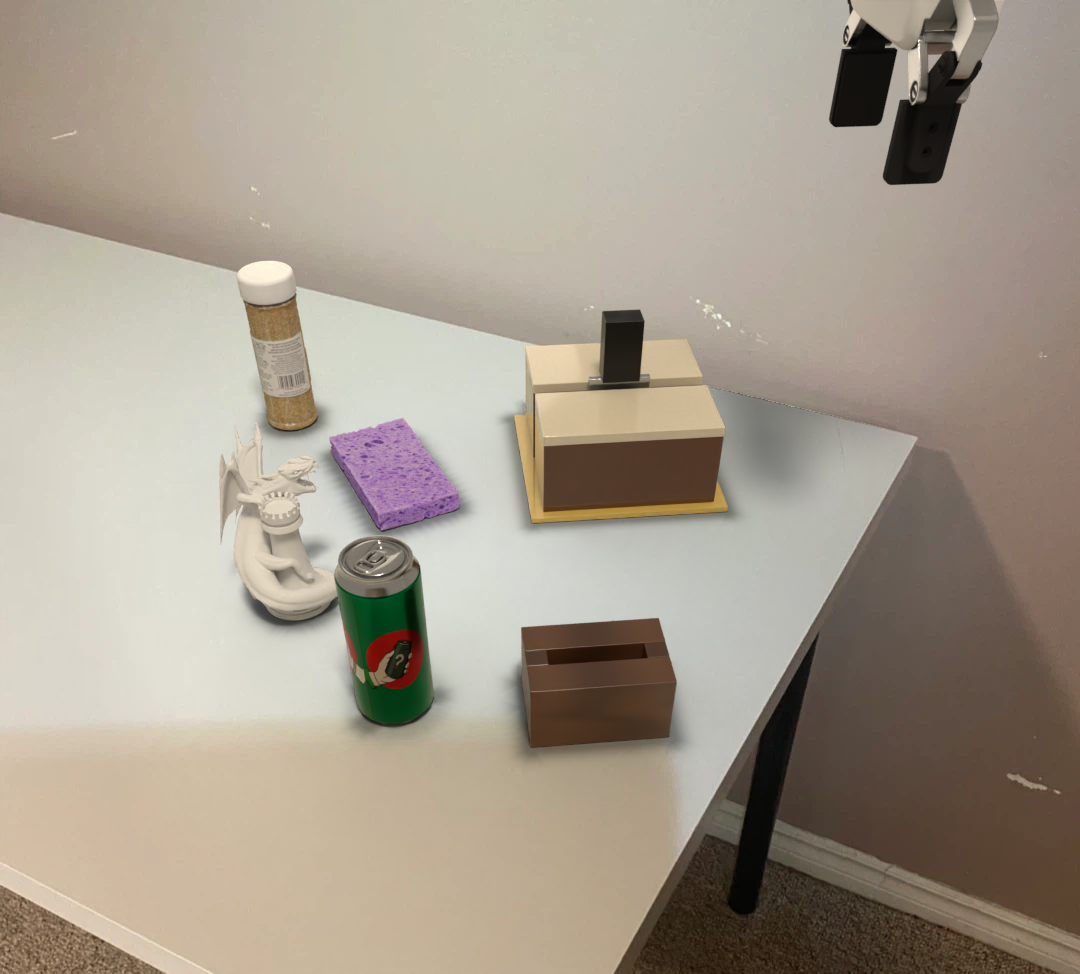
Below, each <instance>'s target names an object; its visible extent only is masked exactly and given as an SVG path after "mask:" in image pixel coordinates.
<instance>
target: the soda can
mask: <svg viewBox="0 0 1080 974" xmlns="http://www.w3.org/2000/svg"><path fill="white" fill-rule="evenodd" d="M333 574H334V580H335V585H336V591H337V601H338V607H339V612H340V618H341V623H342V628H343V634H344V639H345V645H346V651H347V656H348V661H349V666H350V667H349V668H350V673H351V677H352V678H351V679H352V682H353V684H352V685H353V689H354V694H355V700H356V704H357V706H358V707H357V708H359V710H360V711H361V713H362V714H363V715H365V716H366V717H367V718H369V719H370V720H373V721H375V722H377V723H381V724H385V725H400V724H404V723H408V722H410V721H413V720H414V719H416V718H418V717H420V716H421V715H423V713H424V712H425V711H427V710H428V708H429V707H430V706H431V704H432V702H433V699H434V684H433V676H432V666H431V656H430V655H431V654H430V646H429V638H428V628H427V617H426V608H425V597H424V588H423V580H422V578H423V577H422V569H421V564H420V562H419V561H418V559H417V557H415V556H414V554H413V551H412V548H411V547H410V546H409V544H408V543H406V542H405V541H403V540H402V539H400V538H398V537H395V536H391V535H385V534H384V535H382V534H381V535H380V534H377V535H368V536H364V537H360V538H357V539H355V540H353V541H352V542H349V543H348V544H347V545H345V546H344V547H343V548H342V550H341V551H340V552H339V555H338V558H337V565H336V567H335V569H334V573H333Z"/></svg>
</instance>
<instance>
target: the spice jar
mask: <svg viewBox="0 0 1080 974" xmlns="http://www.w3.org/2000/svg"><path fill="white" fill-rule="evenodd" d="M236 281H237V286H238V292H239V295H240V298H241V299H242V302H243V304H244V307H245V312H246V313H245V314H246V317H247V321H248V326H249V335H250V339H251V344H252V348H253V353H254V357H255V364H256V368H257V373H258V377H259V383H260V386H261V390H262V393H263V398H264V403H265V406H266V412H267V415H266V416H267V421H268V423H269V424H270V425H271V426H272V427H273V428H276V429H278V430H279V429H280V430H283V431H297V430H301V429H305V428H306V427H309V426H310V425H312V424H314V422H315V421H316V420H317V418H318V409H317V407H316V404H315V398H314V392H313V386H312V375H311V371H310V370H311V369H310V364H309V358H308V352H307V347H306V346H305V340H304V334H303V329H302V324H301V318H300V315H299V309H298V301H297V295H298V294H297V290H298V289H297V283H296V279H295V273H294V270H293V269H292V267H291V266H290V265H288V264H287V263H285V262H282V261H277V260H260V261H255V262H252V263H247V264H246V265H244V266H242V267H241V268H240V269H239V270H238V272H237V273H236Z"/></svg>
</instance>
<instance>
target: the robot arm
mask: <svg viewBox="0 0 1080 974" xmlns="http://www.w3.org/2000/svg"><path fill="white" fill-rule="evenodd" d="M846 1H847V4H848V10H849V11H848V12H849V17H848V19H847V21H846V22H845V24H844V26H843V31H842V37H841V43H842V47H843V48H841V52H840V56H839V61H838V68H837V73H836V79H835V82H834V83H835V84H834V89H833V94H832V100H831V104H830V105H831V106H830V110H829V116H828V121H829V123H830V125H832V126H833V127H834V128H855V127H856V128H857V127H858V128H859V127H877V126H878V125H880V124H881V123H882V122H883V118H884V113H885V110H886V104H887V100H888V95H889V92H890V91H889V90H890V86H891V81H892V78H893V73H894V68H895V63H896V59H897V54H898V49H897V48H896V47H898V48H899V49H901V50H903V51H907V83H908V84H907V87H908V88H907V89H908V98H907V99H905V98H904V99H899V102H898V106H897V111H896V114H895V118H894V119H895V120H894V123H893V130H892V132H891V137H890V141H889V145H888V150H887V153H886V154H887V155H886V158H885V162H884V163H885V164H884V167H883V171H882V179H883V181H884V183H886V184H887V185H889V186H900V185H903V186H905V185H927V184H928V185H930V184H937V183H939V182H940V181H941V180H942V178H943V176H944V173H945V169H946V165H947V161H948V159H949V154H950V150H951V146H952V143H953V139H954V135H955V131H956V128H957V124H958V120H959V117H960V113H961V110H962V106H963V104H965V103H966V102H967V101H968V99H969V97H970V93H971V87H972V85H971V84H972V83H973V81H975V79H976V78H977V77H978V74H979V73H980V71H981V70H982V68H983V62H982V59H983V58H984V55H985V53H986V52H987V50H988V49H989V46H990V44H991V42H992V40H993V38H994V37H995V33H996V32H997V29H998V25H999V21H1000V18H1001V16H1002V15H1001V14H1002V12H1003V11H1002V10H1003V7H1004V2H1005V0H846ZM892 44H893V45H895V46H896V47H891V45H892ZM933 55H937V56H938V55H940V56H939V58H938V59H937V60H936V62H935V64H933V66H932V67H931V68H930V70H929V56H933Z"/></svg>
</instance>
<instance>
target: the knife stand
mask: <svg viewBox="0 0 1080 974" xmlns="http://www.w3.org/2000/svg"><path fill="white" fill-rule="evenodd" d="M520 639H521V640H520V643H521V645H520V649H521V653H520V654H521V655H520V656H521V688H522V694H523V695H522V696H523V703H524V709H525V716H526V725H527V731H528V739H529V746H530V748H539V747H541V748H542V747H552V746H566V745H580V744H591V743H605V742H618V741H630V740H643V739H644V740H645V739H646V740H647V739H657V738H659V739H660V738H669V737H670V733H671V726H672V719H673V712H674V705H675V698H676V690H677V684H678V680H677V678H676V677H677V676H676V674H675V670H674V667H673V663H672V659H671V656H670V652H669V649H668V646H667V642H666V639H665V635H664V631H663V628H662V625H661V620H660V618H659V617H652V618H637V619H622V620H621V619H620V620H608V621H592V622H578V623H577V622H576V623H561V624H549V625H545V624H544V625H533V626H521V628H520Z"/></svg>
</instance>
